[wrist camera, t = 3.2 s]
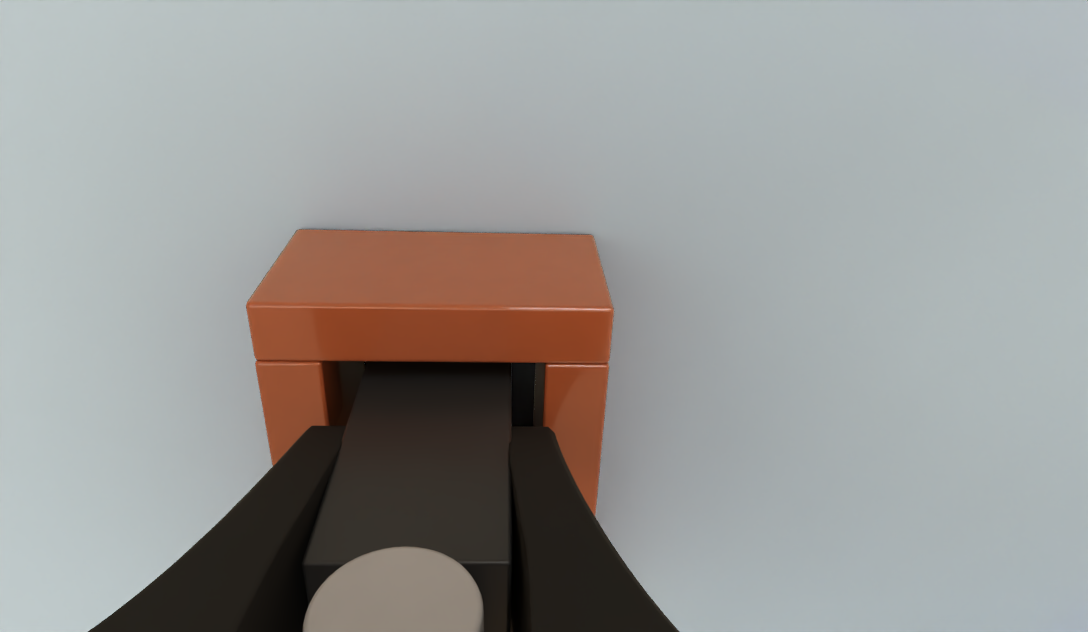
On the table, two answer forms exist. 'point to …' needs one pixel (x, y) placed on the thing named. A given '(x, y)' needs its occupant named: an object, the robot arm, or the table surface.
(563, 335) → the holder
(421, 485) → the block with cylinder
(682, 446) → the table surface
